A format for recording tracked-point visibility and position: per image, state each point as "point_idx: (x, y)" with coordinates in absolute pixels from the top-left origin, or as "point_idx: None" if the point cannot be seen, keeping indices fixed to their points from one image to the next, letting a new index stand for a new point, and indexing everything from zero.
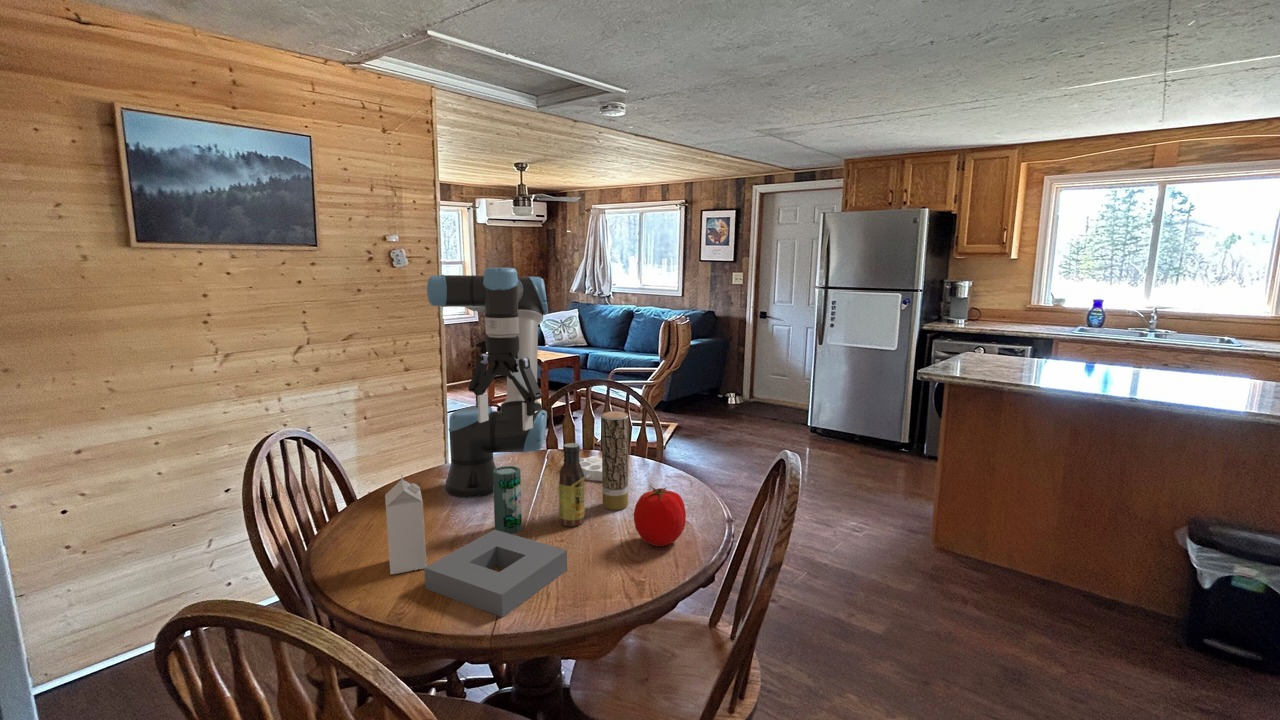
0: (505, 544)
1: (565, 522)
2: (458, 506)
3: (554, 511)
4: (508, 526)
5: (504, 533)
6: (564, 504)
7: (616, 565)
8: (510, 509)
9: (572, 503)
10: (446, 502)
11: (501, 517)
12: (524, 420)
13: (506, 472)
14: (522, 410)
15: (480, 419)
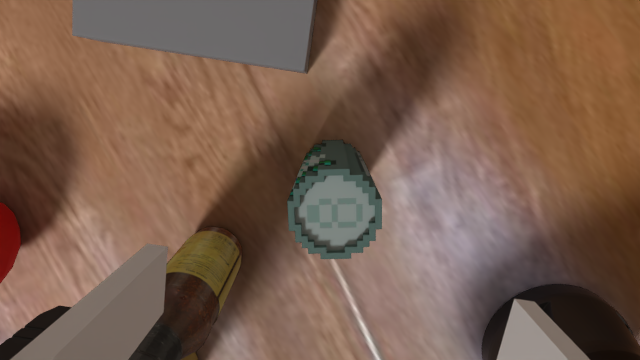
0: (227, 3)
1: (213, 229)
2: (523, 239)
3: (285, 290)
4: (315, 147)
5: (266, 59)
6: (201, 247)
7: (22, 101)
8: (308, 159)
9: (179, 252)
10: (567, 249)
11: (332, 146)
12: (118, 272)
13: (331, 207)
14: (91, 317)
15: (525, 309)
